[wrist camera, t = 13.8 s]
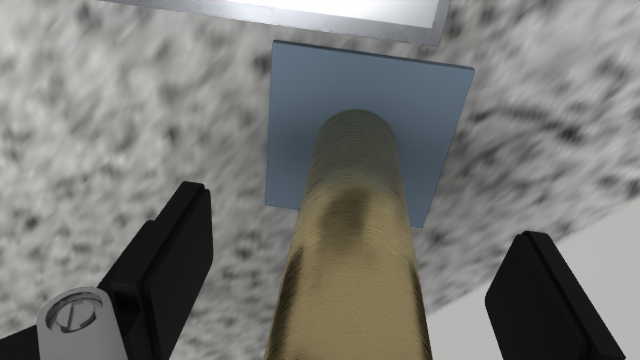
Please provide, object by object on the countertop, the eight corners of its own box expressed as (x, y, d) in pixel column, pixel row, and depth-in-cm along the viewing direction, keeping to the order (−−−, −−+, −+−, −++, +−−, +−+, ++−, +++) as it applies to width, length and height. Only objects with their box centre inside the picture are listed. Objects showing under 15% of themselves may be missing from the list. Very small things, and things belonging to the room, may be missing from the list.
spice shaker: (407, 113, 16) (530, 583, 4) (388, 188, 18) (437, 649, 6) (318, 100, 16) (197, 528, 4) (309, 177, 18) (210, 610, 6)
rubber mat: (421, 222, 20) (422, 227, 19) (266, 200, 20) (265, 205, 19) (472, 67, 15) (475, 70, 15) (274, 40, 15) (272, 42, 15)
